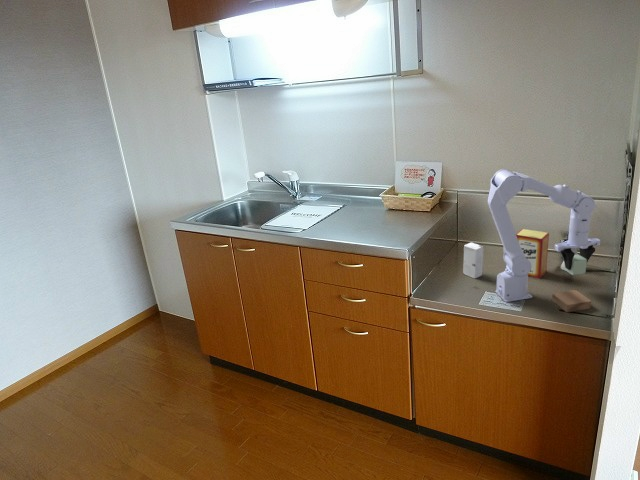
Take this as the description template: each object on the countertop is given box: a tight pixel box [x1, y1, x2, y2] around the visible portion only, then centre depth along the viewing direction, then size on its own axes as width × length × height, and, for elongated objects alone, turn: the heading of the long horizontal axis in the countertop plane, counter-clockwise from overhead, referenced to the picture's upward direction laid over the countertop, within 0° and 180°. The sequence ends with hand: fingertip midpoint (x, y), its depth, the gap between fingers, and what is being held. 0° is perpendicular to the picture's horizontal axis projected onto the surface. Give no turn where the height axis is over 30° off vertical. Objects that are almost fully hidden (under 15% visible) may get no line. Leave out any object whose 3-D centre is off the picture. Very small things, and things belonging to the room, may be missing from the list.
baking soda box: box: [516, 228, 550, 279], centre depth 170 cm, size 10×6×16 cm
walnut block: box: [551, 289, 592, 313], centre depth 150 cm, size 8×8×3 cm
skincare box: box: [462, 242, 484, 279], centre depth 175 cm, size 6×4×12 cm
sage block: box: [563, 253, 588, 276], centre depth 154 cm, size 4×4×5 cm
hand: (575, 267), depth 155 cm, fingers closed on sage block, 4 cm apart
